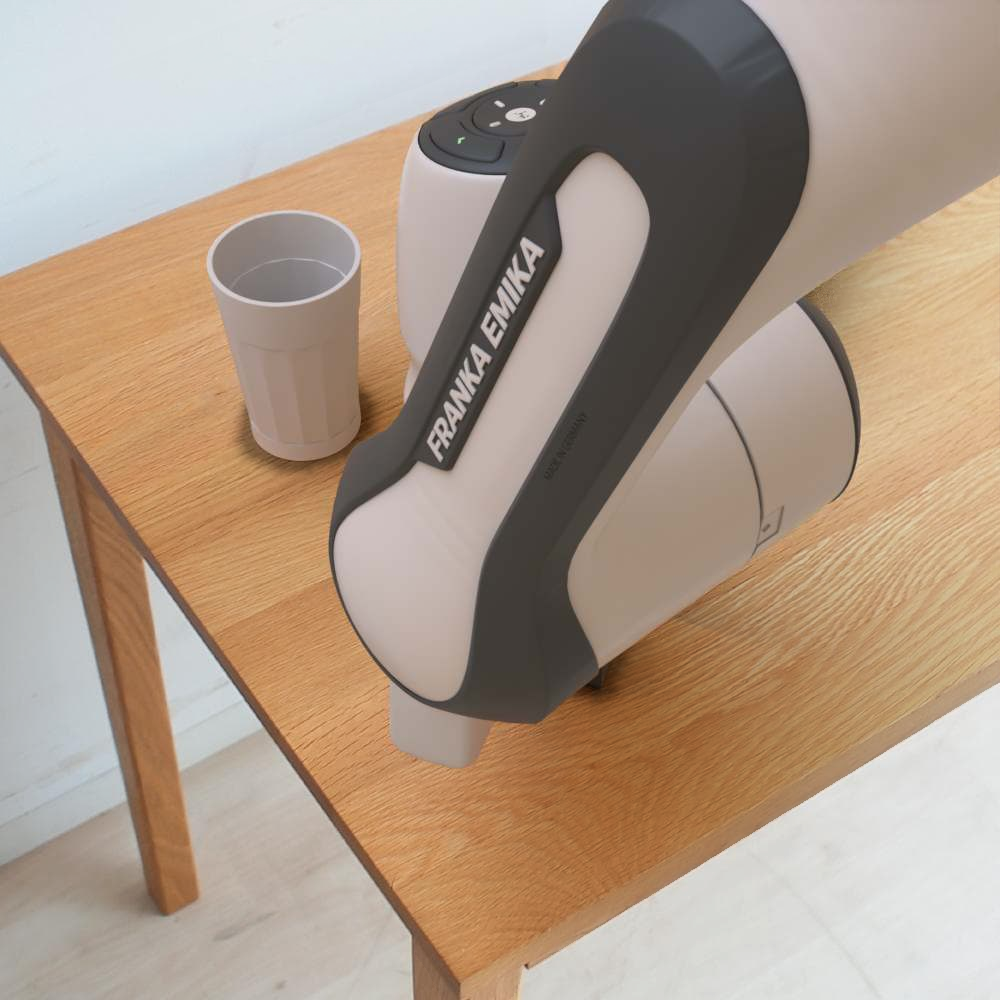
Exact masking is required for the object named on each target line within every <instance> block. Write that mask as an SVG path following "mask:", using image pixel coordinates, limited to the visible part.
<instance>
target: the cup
mask: <svg viewBox="0 0 1000 1000" xmlns="http://www.w3.org/2000/svg"><path fill="white" fill-rule="evenodd" d="M205 261H206V271H207V274H208V278H209V281H210V284H211V288H212V291H213V294H214V298H215V301H216V305H217V308H218V311H219V314H220V317H221V321H222V325H223V328H224V332H225V336H226V339H227V343H228V346H229V350H230V353H231V356H232V360H233V364H234V367H235V371H236V375H237V378H238V381H239V385H240V389H241V392H242V396H243V399H244V402H245V406H246V410H247V414H248V417H249V418H248V419H249V424H250V428H251V429H250V430H251V435H252V436H253V439H254V440H255V442H256V443H257V445H258V446H259V447H260V448H261V449H263V450H264V451H265V452H267V453H268V454H270V455H272V456H274V457H277V458H280V459H283V460H288V461H294V462H308V461H309V462H311V461H316V460H320V459H324V458H328V457H330V456H333V455H334V454H336V453H338V452H340V451H342V450H343V449H344V448H346V447H347V446H348V445H350V444H351V443H352V441H354V439H355V438H356V436H357V434H358V433H359V430H360V428H361V424H362V415H361V404H360V396H359V376H360V375H359V371H360V370H359V367H360V366H359V362H360V360H359V355H360V353H359V352H360V351H359V349H360V348H359V347H360V342H359V341H360V307H361V292H362V291H361V288H362V287H361V286H362V285H361V284H362V247H361V244H360V241H359V239H358V237H357V236H356V234H355V233H354V232H353V231H352V230H351V229H350V228H349V227H348V226H347V225H345V224H344V223H343V222H341V221H339V220H338V219H336V218H333V217H331V216H329V215H325V214H322V213H319V212H314V211H309V210H302V209H301V210H300V209H282V210H281V209H280V210H273V211H266V212H262V213H257V214H254V215H252V216H249V217H247V218H244V219H242V220H239V221H237V222H236V223H234V224H232V225H231V226H229V227H228V228H227V229H225V230H224V231H222V232H221V233H220V234H219V235H218V236H217V237H216V239H215V240H214V241H213V243H212V244H211V246H210V248H209V249H208V252H207V255H206V260H205Z"/></svg>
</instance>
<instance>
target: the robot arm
mask: <svg viewBox="0 0 1000 1000" xmlns="http://www.w3.org/2000/svg"><path fill="white" fill-rule="evenodd" d="M999 176H1000V0H607V1H606V2H605V4H604V5H603V6H602V7H601V9H600V10H599V12H598V14H597V15H596V16H595V18H594V20H593V21H592V23H591V25H590V26H589V28H588V30H587V31H586V33H585V34H584V36H583V37H582V39H581V40H580V42H579V44H578V45H577V46H576V49H575V50H574V52H573V53H572V55H571V57H570V58H569V60H568V62H567V63H566V65H565V66H564V68H563V70H562V71H561V73H560V75H559V76H558V77H557V78H541V79H531V80H520V81H509V82H506V83H501V84H498V85H495V86H492V87H490V88H487V89H485V90H481V91H479V92H477V93H475V94H471V95H470V96H467V97H465V98H463V99H461V100H458V101H456V102H454V103H452V104H450V105H448V106H446V107H445V108H443V109H440V110H439V111H437V112H435V114H434V115H432V117H430V118H429V119H428V120H426V121H424V122H423V123H422V124H421V125H420V127H419V128H418V130H417V131H416V133H415V134H414V137H413V138H412V140H411V143H410V145H409V148H408V150H407V153H406V157H405V161H404V164H403V168H402V172H401V177H400V184H399V192H398V199H397V213H396V229H395V231H396V232H395V282H396V283H395V285H396V302H397V303H396V304H397V319H398V326H399V331H400V334H401V339H402V341H403V344H404V346H405V348H406V350H407V353H408V354H409V357H410V359H411V360H410V364H409V367H408V370H407V373H406V377H405V381H404V387H403V406H402V408H401V410H400V412H399V413H398V415H397V416H396V418H395V419H394V420H393V422H392V423H391V424H390V425H389V426H388V427H387V428H386V429H384V430H382V431H379V432H378V433H375V434H374V435H371V436H369V437H367V438H365V439H364V440H362V441H359V442H358V443H356V444H355V445H354V446H353V447H352V448H351V450H350V452H349V454H348V457H347V458H346V462H345V464H344V467H343V470H342V473H341V475H340V479H339V481H338V485H337V488H336V489H337V490H336V494H335V498H334V501H333V506H332V513H331V517H330V524H329V534H328V545H327V546H328V547H327V548H328V561H329V567H330V571H331V576H332V581H333V585H334V588H335V590H336V593H337V596H338V599H339V601H340V605H341V606H342V608H343V611H344V613H345V615H346V617H347V620H348V622H349V623H350V626H351V627H352V629H353V631H354V632H355V634H356V636H357V639H359V641H360V642H361V645H362V646H363V647H364V649H365V650H366V652H367V653H368V655H369V656H370V657H371V659H372V660H373V661H374V663H375V664H376V665H377V666H378V668H379V669H380V670H381V671H382V672H383V673H384V675H386V677H387V678H388V679H389V705H388V706H389V737H390V740H391V741H390V742H391V743H392V745H393V746H394V747H395V748H396V749H397V750H399V751H400V752H402V753H403V754H406V755H408V756H410V757H413V758H416V759H418V760H420V761H424V762H426V763H430V764H432V765H437V766H440V767H444V768H448V769H453V770H462V769H466V768H470V767H471V766H473V765H474V764H475V763H476V761H477V760H478V759H479V756H480V755H481V753H482V750H483V747H484V745H485V743H486V741H487V738H488V736H489V733H491V732H490V731H491V730H492V727H493V725H494V723H495V722H498V723H507V724H520V725H521V724H523V725H536V724H539V723H541V722H543V721H544V720H545V719H546V718H547V717H549V716H550V715H551V714H552V713H553V712H555V711H556V710H557V709H558V708H559V707H561V706H562V705H563V704H564V703H565V702H566V701H568V700H569V699H570V698H572V697H573V696H574V695H575V694H576V693H578V692H579V691H580V690H581V689H583V688H584V687H586V686H585V685H586V684H587V683H588V682H590V681H591V680H592V679H593V678H594V677H596V676H597V675H598V673H599V669H600V668H601V667H602V666H604V665H605V664H607V663H608V662H610V661H611V660H612V659H613V660H614V659H615V658H617V657H618V656H620V655H621V654H622V653H624V652H625V651H627V650H628V649H629V648H631V647H632V646H634V645H635V644H637V643H638V642H639V641H641V640H642V639H644V638H645V637H647V636H648V635H650V634H651V633H652V632H653V631H655V630H656V629H658V628H659V627H661V626H662V625H663V624H665V623H666V622H667V621H669V620H671V619H672V618H674V617H675V616H676V615H678V614H679V613H681V612H682V611H684V610H685V609H686V608H687V607H689V606H690V605H692V604H693V603H695V602H697V600H699V599H700V598H702V597H703V596H705V595H706V594H708V593H709V592H710V591H712V590H713V589H714V588H716V587H717V586H719V585H721V584H722V583H724V582H725V581H726V580H727V579H729V578H730V577H732V576H733V575H734V574H736V573H737V572H739V571H740V570H742V569H743V567H745V566H746V565H747V564H749V563H750V562H751V561H753V560H754V559H756V558H757V557H758V556H761V554H763V553H764V552H766V551H767V550H769V549H770V548H771V547H773V546H774V545H775V544H777V543H778V542H780V541H781V540H784V538H785V537H787V536H788V535H789V534H792V533H793V532H794V531H795V530H796V529H798V528H799V527H801V526H802V525H803V524H805V523H806V522H807V521H809V520H810V519H811V518H813V517H814V516H816V514H818V513H819V512H820V511H822V509H824V508H825V507H826V506H827V505H829V504H831V503H833V502H835V501H836V500H837V499H838V498H840V496H842V495H843V494H844V493H845V491H846V489H847V488H848V486H849V485H850V482H851V480H852V478H853V476H854V472H855V470H856V465H857V463H858V458H859V454H860V453H859V452H860V446H861V436H862V416H861V415H862V414H861V405H860V403H861V402H860V397H859V392H858V391H859V390H858V386H857V381H856V378H855V374H854V371H853V370H854V369H853V368H852V364H851V361H850V359H849V356H848V354H847V351H846V349H845V346H844V344H843V341H842V339H841V338H840V335H838V332H837V331H836V329H835V327H834V325H833V324H832V323H831V321H830V319H829V318H828V317H827V316H826V314H825V313H824V312H823V311H822V310H821V309H820V308H819V307H818V306H817V305H816V304H815V303H814V302H812V300H810V299H809V298H808V297H807V296H806V295H808V294H809V293H811V292H812V291H813V290H815V289H816V288H818V287H819V286H821V285H822V284H824V283H825V282H827V281H828V280H829V279H831V278H833V277H834V276H836V275H837V274H839V273H840V272H842V271H844V269H847V268H848V267H849V266H851V265H853V264H854V263H857V261H859V260H861V259H862V258H864V257H865V256H867V255H868V254H870V253H872V252H874V251H875V250H877V249H878V248H880V247H881V246H883V245H884V244H886V243H888V242H890V241H891V240H893V239H894V238H897V237H898V236H899V235H901V234H903V233H904V232H906V231H909V229H911V228H913V227H914V226H916V225H918V224H920V223H921V222H923V221H924V220H926V219H928V218H929V217H932V216H933V215H935V214H937V213H938V212H939V211H941V210H942V209H945V208H947V207H948V206H949V205H951V204H953V203H955V202H957V201H958V200H960V199H962V198H963V197H965V196H968V194H970V193H972V192H974V191H975V190H977V189H978V188H980V187H982V186H985V184H987V183H989V182H990V181H992V180H994V179H995V178H998V177H999Z"/></svg>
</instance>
